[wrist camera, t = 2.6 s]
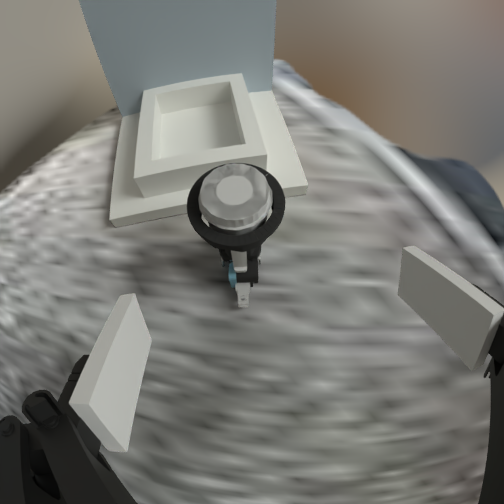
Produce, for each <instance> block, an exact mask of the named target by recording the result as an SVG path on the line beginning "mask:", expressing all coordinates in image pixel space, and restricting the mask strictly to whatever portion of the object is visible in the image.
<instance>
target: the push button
mask: <svg viewBox="0 0 504 504" xmlns="http://www.w3.org/2000/svg"><path fill="white" fill-rule="evenodd" d="M271 207H272V214H271V216H270V218H269V219H268V220H267V214H268V212H269V210H270V208H271ZM284 210H285V196H284V192H283V189H282V187H281V185H280V184H279V182H278V181H277V180H276V178H275V177H274V176H273V175H271V174H270V173H269V172H267V171H266V170H264V169H262V168H260V167H258V166H255V165H252V164H247V163H229V164H224V165H220V166H217V167H215V168H213V169H211V170H209V171H207V172H206V173H204V174H203V175H202V176H201V177H200V178H199V179H198V180H197V181H196V182H195V183H194V185H193V186H192V188H191V190H190V192H189V195H188V199H187V213H188V217H189V220H190V222H191V224H192V226H193V228H194V229H195V231H196V232H197V233H198V234H199V235H200V236H201V237H202V238H203V239H204V240H206V241H207V242H208V243H209V244H210V245H212V246H213V247H214V248H218V249H219V252H220V255H221V261H222V266H223V267H224V261H229V281H230V284H231V288H232V287H235V288H236V294H238V304H239V307H240V308H243V307H249V294H248V293H250V287H253V283H258V261H257V260H259V265H260V260H261V258H260V252H261V244H262V243H263V242H264V241H265V240H266V239H267V238H268V237H269V236H270V235H272V234H273V233H274V231H275V230H276V229H277V228H278V226H279V225H280V223H281V221H282V218H283V215H284ZM202 214H203V216H204V217H205V218H206V220H207V221H208V223H209V226H210V227H208V226H207V225H206V224H205V223H204V222H203V220H202V219H201V217H202ZM266 220H267V221H266ZM242 299H246V300H244V301H242Z"/></svg>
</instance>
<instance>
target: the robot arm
mask: <svg viewBox="0 0 504 504" xmlns="http://www.w3.org/2000/svg"><path fill="white" fill-rule="evenodd" d="M398 296H400V297H401V298H402V299H403V300H404V301H405V302H406V303H407V304H408V305H409V306H410V307H411V308H412V309H413V310H414V311H415V312H416V313H417V314H418V315H419V316H420V317H421V318H422V319H423V320H424V321H425V322H426V323H427V324H428V325H429V326H430V327H431V328H432V329H433V330H434V331H435V332H436V333H437V334H438V335H439V336H440V337H441V338H442V339H443V340H444V342H445V343H446V344H447V345H448V346H449V347H450V348H451V349H452V350H453V351H454V352H455V353H456V354H457V355H458V356H459V358H460V359H461V360H462V361H463V362H464V363H465V364H466V365H467V366H468V367H469V368H470V370H471V371H473V370H475V369H476V368H478V367H480V366H481V365H483V364H484V362H485V359H486V357H487V355H488V353H489V354H490V355H491V356H492V359H491V361H490V363H489V365H488V367H487V369H486V371H485V373H484V378H486V376H487V374H488V372H490V376H489V378H490V379H491V414H490V433H489V444H488V453H487V461H486V468H485V474H484V480H483V485H482V490H481V494H480V499H479V503H478V504H504V306H503V305H502V304H501V303H499V302H498V301H497V300H495V299H494V298H493V297H491V296H490V295H489V294H487V293H486V292H484V291H483V290H482V289H481V288H479V287H478V286H476V285H474V284H472V283H469V282H468V281H466V280H465V279H464V278H462V277H461V276H459V275H458V274H456V273H455V272H453V271H452V270H450V269H449V268H448V267H446V266H445V265H443V264H442V263H440V262H439V261H437V260H436V259H434V258H432V257H431V256H429V255H428V254H426V253H425V252H423V251H422V250H420V249H418V248H417V247H415V246H409V247H404V248H402V260H401V271H400V280H399V288H398ZM151 342H152V339H151V337H150V334H149V331H148V329H147V326H146V323H145V321H144V318H143V315H142V312H141V310H140V307H139V304H138V301H137V298H136V295H135V293H133V294H126V295H120V297H119V299H118V300H117V302H116V304H115V306H114V308H113V310H112V312H111V314H110V315H109V317H108V319H107V321H106V323H105V325H104V327H103V329H102V331H101V333H100V335H99V337H98V339H97V341H96V343H95V345H94V347H93V349H92V351H91V354H90V355H83V356H82V357H81V358H80V359H79V360H78V361H77V363H76V364H75V366H74V368H73V370H72V372H71V373H72V374H70V376H69V378H68V382H67V383H66V385H65V387H64V389H63V391H62V393H61V396H60V398H59V400H58V402H57V401H56V399H55V398H54V397H53V395H52V394H51V393H50V392H49V391H47V390H38V391H36V392H33V393H32V394H30V395H29V396H28V397H27V398H26V400H25V401H24V403H23V406H22V413H23V414H24V415H25V416H26V417H27V419H28V420H29V421H30V422H31V423H29V424H22V423H21V421H20V420H19V419H18V418H17V417H15V416H13V415H11V416H6V417H4V418H3V419H2V420H0V504H137V503H136V501H135V500H134V499H133V498H132V496H131V495H130V494H129V492H128V491H127V490H126V488H125V487H124V486H123V484H122V483H121V481H120V480H119V479H118V477H117V476H116V474H115V473H114V471H113V470H112V468H111V467H110V465H109V464H108V462H107V461H106V459H105V458H104V456H103V455H102V454H101V453H100V452H99V449H100V445H101V443H102V444H103V445H104V447H105V448H106V449H107V450H108V451H114V452H127V451H128V446H129V440H130V435H131V430H132V424H133V419H134V415H135V410H136V405H137V400H138V396H139V391H140V387H141V383H142V378H143V374H144V370H145V366H146V362H147V358H148V354H149V350H150V346H151Z"/></svg>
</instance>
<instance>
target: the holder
mask: <svg viewBox="0 0 504 504" xmlns="http://www.w3.org/2000/svg"><path fill="white" fill-rule="evenodd" d="M79 2H80V5H81V8H82V11H83V14H84V17H85V20H86V24H87V27H88V29H89V32H90V35H91V38H92V41H93V43H94V46H95V49H96V52H97V55H98V57H99V60H100V63H101V65H102V68H103V70H104V73H105V75H106V78H107V81H108V83H109V86H110V88H111V91H112V93H113V96H114V98H115V100H116V103H117V105H118V108H119V110H120V112H121V115H122V122H121V127H120V133H119V139H118V145H117V152H116V159H115V166H114V175H113V183H112V193H111V205H110V219H109V220H110V221H111V222H112V224H113V225H114V226H115V227H121V226H125V225H130V224H135V223H140V222H145V221H149V220H154V219H159V218H165V217H170V216H175V215H180V214H186V213H187V199H188V195H189V192H190V190H191V188H192V186H193V185H194V183H195V182H196V181H197V180H198V179H199V178H200V177H201V176H202V175H203V174H204V173H206V172H207V171H209V170H211V169H213V168H215V167H217V166H220V165H224V164H229V163H247V164H252V165H255V166H258V167H260V168H262V169H264V170H266V171H267V172H269V173H270V174H271V175H273V176H274V177H275V178H276V180H277V181H278V182H279V184H280V185H281V187H282V189H283V192H284V196H285V197H291V196H298V195H305V194H306V192H307V188H308V183H307V180H306V177H305V174H304V171H303V169H302V166H301V163H300V160H299V158H298V155H297V152H296V150H295V147H294V144H293V142H292V139H291V137H290V134H289V131H288V129H287V126H286V124H285V121H284V119H283V116H282V114H281V112H280V109H279V107H278V104H277V102H276V99H275V97H274V95H273V92H272V77H273V59H274V40H275V38H274V37H275V19H276V0H79Z"/></svg>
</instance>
